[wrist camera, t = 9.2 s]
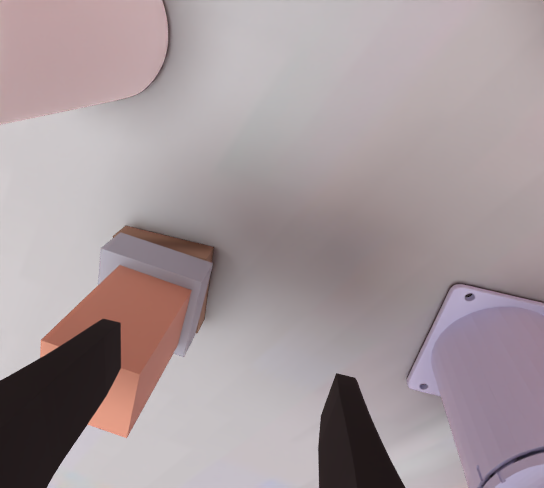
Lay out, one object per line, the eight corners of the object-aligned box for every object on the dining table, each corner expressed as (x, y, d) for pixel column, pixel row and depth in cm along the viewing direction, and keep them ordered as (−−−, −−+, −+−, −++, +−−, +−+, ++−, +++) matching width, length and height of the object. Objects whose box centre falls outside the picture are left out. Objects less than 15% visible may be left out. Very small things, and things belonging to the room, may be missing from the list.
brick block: (191, 290, 20) (139, 374, 15) (177, 345, 22) (126, 438, 16) (119, 264, 20) (40, 340, 15) (111, 322, 22) (38, 407, 16)
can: (109, 123, 20) (-141, 200, 10) (16, 7, 18) (-420, -56, 8) (199, 44, 18) (1, 31, 7) (104, -98, 16) (-349, -394, 5)
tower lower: (216, 243, 23) (206, 258, 21) (206, 313, 26) (197, 333, 24) (129, 222, 23) (112, 236, 22) (128, 294, 26) (113, 312, 24)
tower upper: (213, 263, 21) (202, 282, 20) (195, 334, 24) (183, 357, 22) (120, 232, 21) (100, 248, 20) (112, 306, 24) (94, 327, 22)
